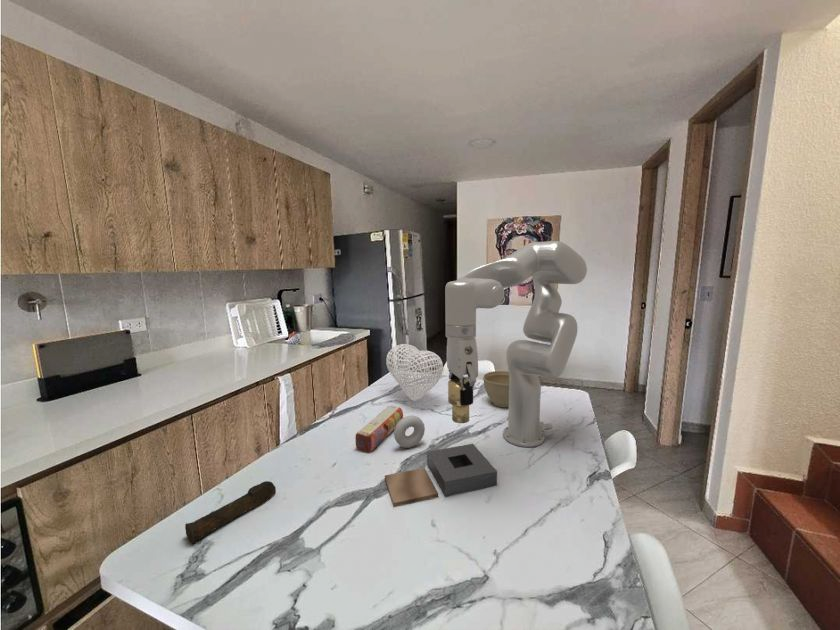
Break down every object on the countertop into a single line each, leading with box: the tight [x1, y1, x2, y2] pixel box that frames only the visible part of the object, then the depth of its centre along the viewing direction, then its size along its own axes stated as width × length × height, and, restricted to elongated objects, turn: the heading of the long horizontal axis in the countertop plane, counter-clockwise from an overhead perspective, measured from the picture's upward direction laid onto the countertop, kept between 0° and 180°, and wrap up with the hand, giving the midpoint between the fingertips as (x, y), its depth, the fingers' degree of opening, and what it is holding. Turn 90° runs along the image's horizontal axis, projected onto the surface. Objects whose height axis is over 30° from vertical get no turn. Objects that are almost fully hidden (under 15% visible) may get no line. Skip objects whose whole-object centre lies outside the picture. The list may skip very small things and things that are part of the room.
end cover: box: [447, 378, 472, 424], centre depth 89 cm, size 6×6×10 cm
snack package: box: [355, 404, 404, 453], centre depth 113 cm, size 21×7×7 cm, turn 156°
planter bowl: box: [482, 370, 509, 408], centre depth 137 cm, size 16×16×11 cm
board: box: [384, 467, 439, 508], centre depth 87 cm, size 11×11×1 cm
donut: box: [393, 415, 426, 448], centre depth 106 cm, size 10×4×10 cm, turn 116°
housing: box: [426, 443, 498, 498], centre depth 92 cm, size 14×14×4 cm
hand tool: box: [184, 480, 277, 545], centre depth 78 cm, size 19×4×5 cm, turn 139°
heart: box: [385, 343, 444, 402], centre depth 140 cm, size 28×16×22 cm, turn 36°
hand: (460, 398), depth 89 cm, fingers closed on end cover, 6 cm apart
